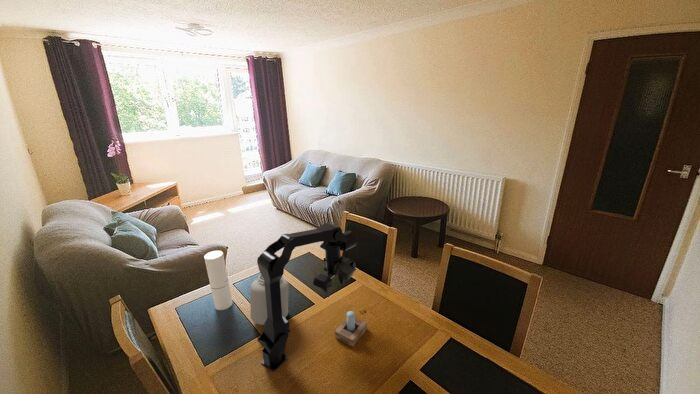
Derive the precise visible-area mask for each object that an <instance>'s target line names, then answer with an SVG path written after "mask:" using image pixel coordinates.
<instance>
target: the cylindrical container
mask: <svg viewBox="0 0 700 394" xmlns="http://www.w3.org/2000/svg"><path fill="white" fill-rule="evenodd" d="M203 258H204V262H205V267H206V273H207V277H208V281H209V286H210V291H211V295H212V298H213V299H212V300H213V303H214V308H215V310H217V311H224V310H227V309H228V308H230V307H231V306H232V305H233V298H232V297H233V296H232V292H231V287H230V283H229V277H228V271H227V267H226V261H225V257H224V252H223V251H222V250H212V251H209V252H207V253H206V254H204V256H203Z"/></svg>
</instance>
